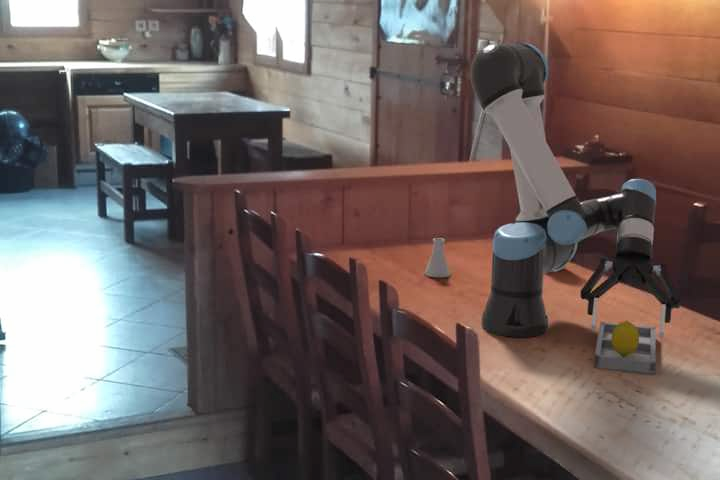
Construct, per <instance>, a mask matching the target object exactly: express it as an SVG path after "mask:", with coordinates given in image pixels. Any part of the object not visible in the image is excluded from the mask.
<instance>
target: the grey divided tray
mask: <svg viewBox="0 0 720 480" xmlns="http://www.w3.org/2000/svg"><path fill="white" fill-rule="evenodd" d="M618 324H619V323H613V322H605V321H603V322H602V321H600V323H599V327H598V334H597V340H596V346H595V353H594V357H593V358H594V361H593V369H602V370H610V371H611V370H612V371H618V372H628V373H639V374H644V375H645V374H646V375H655V372H656V359H657V358H656V353H657V352H656V348H657V347H656V345H657V344H656V327H655V326H654V327H653V326H652V327H651V326H645V325H644V326H643V325H635V324H633V325H634V326H635V327H636V328H637V330H638V333H639V344H638V347H637V349H636V350H635V351H634V352H633V353H632V354H630V355H627V356H626V357H622V356H621V355H620V354H619V353H617V352H616V351H615V350H614V348H613V346H612V341H611V338H612V333H613V330H614V328H615V327H616V326H617V325H618Z"/></svg>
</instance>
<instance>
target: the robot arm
mask: <svg viewBox="0 0 720 480" xmlns="http://www.w3.org/2000/svg"><path fill="white" fill-rule="evenodd" d="M469 74H470V75H469V77H470V79H469V80H470V82H471V87H472V89H473V92H474V95H475V97H476V99H477V101H478V103H479V105H480V106H481V109H482V111H483V113H485V114H488V115H491V116H492V119H493V121H494V122H495V124H496V125H497V127H498V129H499V130H500V133H501V134H502V137H503V138H504V140H505V141H506V144H507V145H508V147H509V152H510V157H511V162H512V170H513V173H514V180H515V185H516V191H517V196H518V201H519V209H520V212H519V214H518V215H517V216H516V218H515V221H516V222H515V223H507V224H504V225H501V226H499V227H498V228H497V229H496V230H495V232H494V233H493V234H494V235H493V242H492V246H491V248H492V256H491V259H492V260H491V276H490V277H491V278H490V279H491V281H490V283H491V284H490V294H489V296H488V299H487V302H486V305H485V308H484V310H483V312H482V314H481V327H482V329H484V330H486V331H488V332H489V333H491V334H495V335H499V336H503V337H509V338H510V337H511V338H532V337H536V336H541V335H543V334H545V333H546V332H547V331H548V329H549V318H548V315H547V313H546V308H545V302H544V299H543V287H544V275H546V274H548V273H550V272H552V270H556V269H558V268H561V267H562V266H564V265H565V266H566V264H567V263H568V262H570V261H571V260H572V259H573V258H574V256H575V254H576V252H577V249H578V243H580V242H582V241H583V240H585V239H586V238H590V237H592V236H594V235H596V234H598V233H601V232H605V231H609V230H614V229H617V235H616V247H615V256H614V261H608V260H607V259H606V258H604V257H601V258H600V259H599V262H598V266H597V268H595V271H593V274H591V276H590V277H589V278H588V280H587V281H586V283H585V284H584V286H583V287H582V288H581V289H580V298H581V299H582V300H586V301H587V302H588V303H587V315H588V316H592V318H591V327H590V329H591V332H596V326H597V317H598V316H597V315H598V307H599V299H600V298H601V297H602V296H603V295H604V294H606V293H607V292H608V291H609V290H610V289H612V288H613V287H614V286H616V285H617V284H619V283H621V282H623V284H632V285H639V284H642V285H643V286H644V287H645V288H646V289H648V291H649V292H650V293H651V294H652V295H653V296H654V297H655V299H656V301H658V302H659V303H660V305H661V309H660V310H661V311H660V320H659V321H660V323H659V336H658V337H659V339H662V340H663V339H664V334H665V323H666V324H670V323H671V319H672V318H671V317H672V310H673V309H680V308H681V304H682V299H681V296H680V295H679V294H678V291H677V289H676V287H675V285H674V283H673V281H672V279H671V277H670V275H669V273H668V268H667V267H668V266H667V264H666V263H665V262H663V263H661V264H660V265H653V263H652V260H653V259H652V257H653V243H654V242H653V241H654V232H655V228H654V227H655V216H656V206H657V190H656V189H657V188H656V187H655V185H654V184H653V183H652V182H650V181H648V180H646V179H643V178H632V179H629V180H627V181H626V182H624V183H623V184H622V186H621V190H620V193H615V194H612V195H609V196H603V197H599V198H598V197H597V198H593V199H589V200H581V201H580V200H579V198H578V197H577V194H576V192H575V190H574V189H573V187H572V186H571V184H570V182H569V180H568V179H567V176H566V175H565V173H564V171H563V170H562V167H561V166H560V163H558V160H557V159H556V157H555V156H554V154H553V152H552V150H551V148H550V146H549V144H548V143H547V139H546V134H545V128H544V122H543V117H542V111H541V106H540V105H541V103H542V102H543V100H544V99H545V97H546V94H545V89H544V84H545V82H546V80H547V78H548V75H549V66H548V62H547V59H546V57H545V54H544V53H543V52H542V50H540V49H539V48H538V47H536V46H535V45H533V44H530V43H525V42H510V43H494V44H489V45H486V46H484V47H483V48H481V49H480V50H478V52H477V53H476V54H475V56H474V58H473V60H472V62H471V64H470V68H469ZM609 269H611V270H612V271H613V273H612V274H611V275H610V276H609V277H608V278H606V279H605V280H603V282H602V283H600V284H599V285H598V286H597V287H596V285H597V284H598V282H599V281H600V280H601V278H602V277H603V276H604V273H605V272H608V271H609ZM653 273H655V274H656V276H657V277H659V278H660V282H661V283H662V286H663V287H664V289H665V291H666V293H667V294H666V293H665V292H664V291H663V290H662V288H661V287H660V286H659V285H658V284H657V283H656V281H655V280H654V279H653V277H652V276H651V275H652V274H653Z"/></svg>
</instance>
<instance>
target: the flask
mask: <svg viewBox="0 0 720 480" xmlns="http://www.w3.org/2000/svg"><path fill="white" fill-rule="evenodd" d="M432 241H433V249H432V253H431V254H430V257H429V261H428V263H427V266H426V268H425V271H424V275H426V276H427V277H429V278H448V277H450V276H451V271H450V267H449V264H448V261H447V258H446V254H445V249H444V242H445V238H440V237H437V238H433V239H432Z"/></svg>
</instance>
